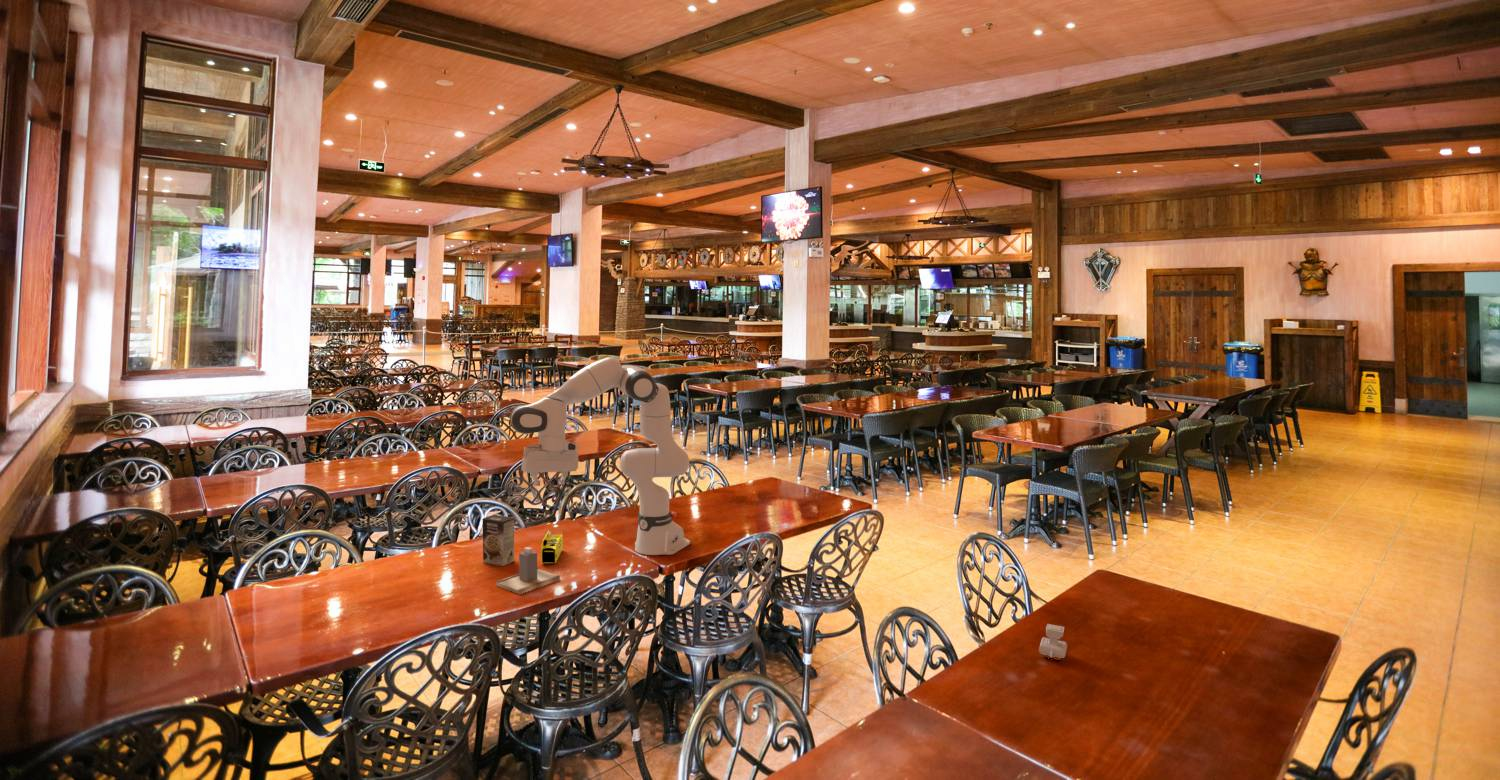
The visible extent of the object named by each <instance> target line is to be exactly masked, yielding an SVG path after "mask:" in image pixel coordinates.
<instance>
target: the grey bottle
mask: <svg viewBox="0 0 1500 780" xmlns="http://www.w3.org/2000/svg"><path fill="white" fill-rule="evenodd" d="M518 556H519V557H518V558H519V559H518V560H519V563H518V565H519V566H518V567H519V569H518V570H519V572H518V574H520V580H522V581H524V582H527V583H528V582H530V581H533V580H536V579H537V568H538V552H537V551H534V550H533V547H531V546H526V547H524V548H523V552H519V553H518Z"/></svg>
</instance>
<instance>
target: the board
mask: <svg viewBox="0 0 1500 780" xmlns="http://www.w3.org/2000/svg"><path fill="white" fill-rule="evenodd" d="M560 580H561V576H560V574H554V573H551V572H548V571H545V570H544V569H543V570H542V569H540V568H538V567H537V579H536V580H533V581H530V582H528V583H527V582H524V581H522V580H520V574H519V573H517V574H513V575H510V576H507V577H505V578H501V579H499V580H496V582H495V583H496V585H495V586H497V587H498V588H501V589H504V590H506V591H509V592H511V591H512V592H511V593H514V594H516V593H517V595H519V594H521V595H524V594H526V593H528V591H529V592H531V590H532V591H534V590H537V589H540V588H542V587H544V586H547V585H550V584H552V583H555V582H558V581H560ZM536 588H537V589H536ZM533 589H534V590H533ZM525 592H526V593H525ZM523 593H524V594H523Z"/></svg>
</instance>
